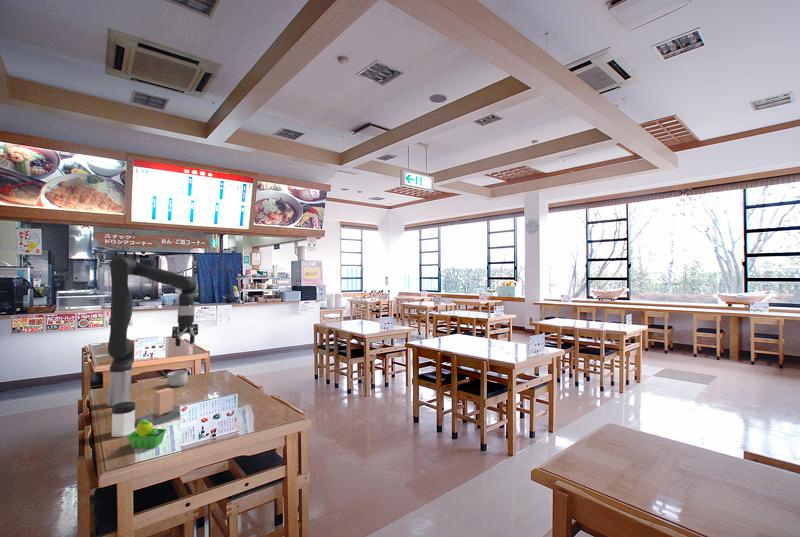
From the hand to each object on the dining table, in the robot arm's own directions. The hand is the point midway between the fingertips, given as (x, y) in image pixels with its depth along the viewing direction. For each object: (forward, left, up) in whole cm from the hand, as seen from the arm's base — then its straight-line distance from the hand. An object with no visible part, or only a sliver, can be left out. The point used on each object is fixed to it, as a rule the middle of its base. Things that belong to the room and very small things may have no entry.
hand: (185, 344), depth 210 cm
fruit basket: (-5, -54, -30) cm, 62 cm away
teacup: (-8, +36, -30) cm, 48 cm away
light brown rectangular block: (-5, -23, -30) cm, 38 cm away
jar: (-17, -37, -30) cm, 51 cm away
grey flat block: (-5, -23, -30) cm, 38 cm away
